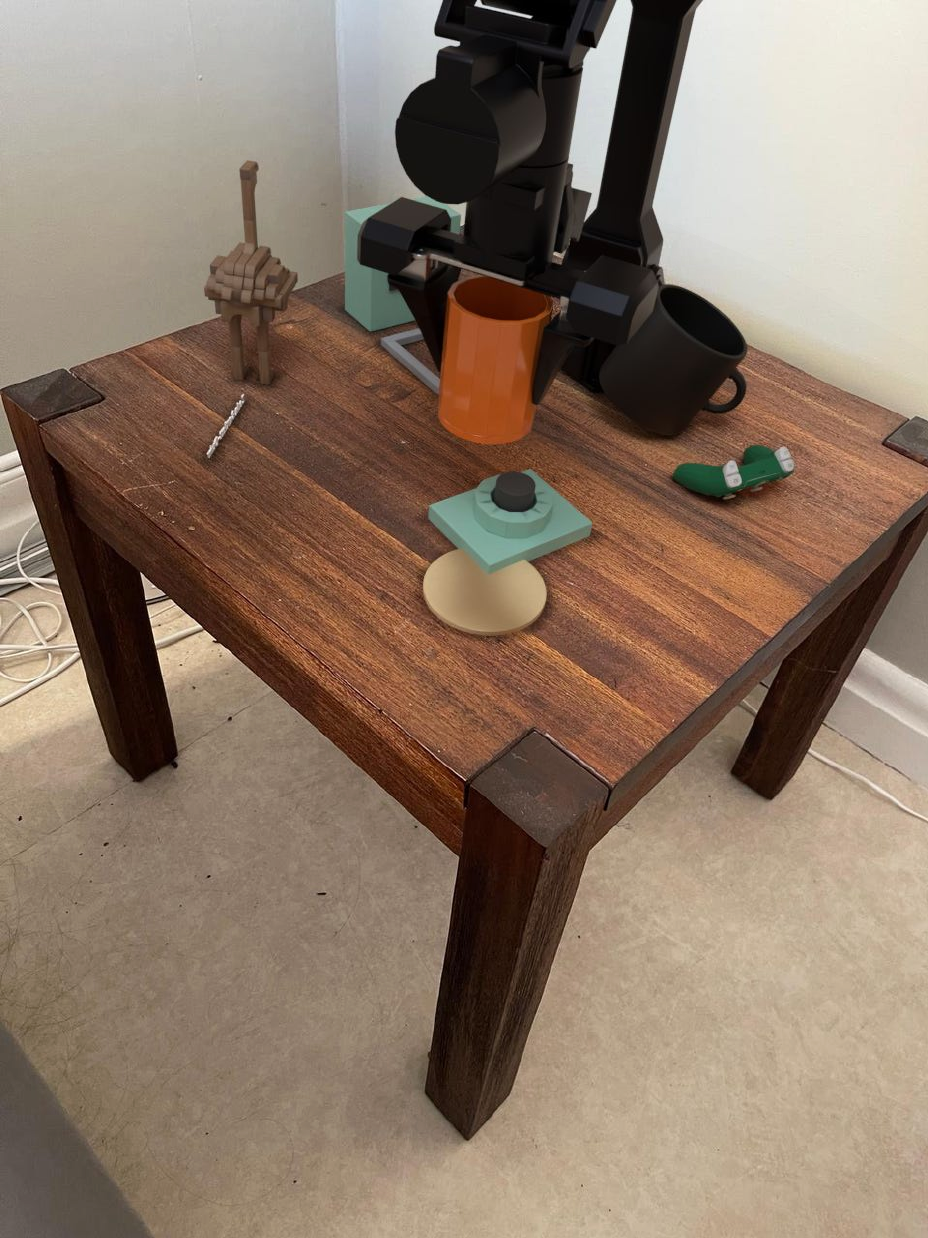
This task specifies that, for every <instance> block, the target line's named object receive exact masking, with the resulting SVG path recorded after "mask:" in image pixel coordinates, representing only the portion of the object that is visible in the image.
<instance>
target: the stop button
mask: <svg viewBox="0 0 928 1238" xmlns="http://www.w3.org/2000/svg"><path fill="white" fill-rule="evenodd" d="M522 472H523V471H516V470H514V471H513V470H511V471H505V472H503V473H500V474H501V475H500V474H499V476H498V478H497V480H496V486H495V493H494V502H495V504H496V505H497V506H498V507H499V508H500V509H502V510H505V511H508V512H525V511H527V510H529V509H530V508H531V506H532V504H533V499H534V493H535V487H536V484H535V481H534V480H533V479H532V478H531V477H530V476H529V475H527V474H525V473H522Z"/></svg>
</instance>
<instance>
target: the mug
mask: <svg viewBox="0 0 928 1238" xmlns="http://www.w3.org/2000/svg"><path fill="white" fill-rule="evenodd" d="M747 354H748V344H747V341H746V338H745V337H744V335H743V333H742V332H741V331H740V329H739V328H738V327H737V326H736V324H735V323H734V322H733V321H732V320H731V319H730V318H729V316H727V315H726V314H725V313H724V312H723V311H722V310H721V309H719V308H718V307H717V306H716V305H715V304H713V303H712V302H710V301H709V300H708V299H706V298H704V297H703V296H701V295H699V294H698V293H696V292H694V291H692V290H690V289H688V288H686V287H683V286H680V285H676V284H671V283H665V285H661V286H659V288H658V292H657V296H656V300H655V304H654V309H653V312H652V313H651V315H650V316H649V317H648V318H647V319H646V321H645V322H644V323H643V324H642V326H641V327H640V328H639V329H638V331H637V332H636V333H635V334H634V336H633V337H632V338H631V339H630V341H629V342H628V343H627V344H621V345H616V347H615V348H614V350H613V351H612V352H611V354H610V355H609V357H608V358H607V359H606V361H605V362H604V364H603V365H602V366H601V369H600V373H599V379H600V383H601V386H602V388H603V390H602V391H603V392H604V395H606V397H607V398H608V399H609V401H610V402H611V403H612V405H614V407H616V409H618V411H620V412H621V413H622V414H623V415H624V416H626V417H627V418H628V419H629V420H631V421H632V422H634V423H635V424H637V425H638V426H640V427H642V428H643V429H645V430H648V431H650V432H653V433H654V434H659V435H662V436H676V435H678V434H680V433H682V432H684V431H685V430H686V429H687V427H689V425H690V424H691V422H692V421H693V420H694V419H695V418H696V417H697V415H698V414H699V413H700V412H701V411H702V412H707V413H710V414H714V415H722V414H727V413H729V412H733V410H735V409H736V408H737V407H739V406H740V405H741V403H743V400H744V398H745V396H746V394H747V381H746V378H745V376H744V375H743V373H742V372H741V371H740V370H738V368H737V367H738V366H739V365H740V364H741V363H742V361H743V360H744V359H745V358H746V356H747ZM728 379H729V380H732V382H733V383H734V384H735V386H736V387H735V388H736V390H735V394H734V396H733V398H731V400H729V401H728V402H726V403H721V404H716V403H713V402H711V401H712V400H711V398H713V396H714V395H715V394H716V393H717V392H718V390H720V388H721V387H722V386H723V384H724V383H725V382H726V380H728Z"/></svg>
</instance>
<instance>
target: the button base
mask: <svg viewBox="0 0 928 1238" xmlns="http://www.w3.org/2000/svg"><path fill="white" fill-rule="evenodd" d="M521 472H522V473H525V474H527V475H529V476H530V477H531V478H532V479H533V480H534V481H535V484H536V487H535V493H534V499H533V504H532V506H531V508H530V509H529V510H527V511H525V512H508V511H505V510H502V509H500V508H499V507H498V506H497V505H496V504H495V502H494V493H495V486H496V480H497V478H498V476H499V475H501V474H502V473H499V474H495V475H493V476H490V477H487V478H485V479H483V480H482V481H481V482H480V483H479V485H478V486H476V488H473V489H469V490H467V491H465V492H462V493H459V494H456V495H454V496H450V497H448V498H445V499H443V500H440V501H437V502H434V503H431V504H429V505H428V516H427V517H428V520H429V521H430V522H431V523H432V524H433V525H434V526H435V527H436V528H437V529H438V530H439V531H440V532H441V533H442V534H443V535H444V536H445V537H446V538H447V539H448V540H449V541H450V542H451V543H452V545H454V546H455V547H456V549H461V548H463V549H464V550H465V551H466V552H467V553H468V554H469V555H470V556H471V557H472V558H473V559H474V560H475V561H476V562H477V563H478V564H479V565H480V567H481V568H482V569H483V570H484V571H485V572H486V573H487V574H490V573H493V572H495V571H497V570H500V569H502V568H505V567H507V566H509V565H512V564H514V563H517V562H519V561H522V560H526V561H527V562H531V561H533V560H535V559H537V558H540V557H542V556H546V555H548V554H549V553H553V552H555V551H557V550H560V549H562V548H564V547H567V546H569V545H571V544H574V543H576V542H580V540H584V539H586V538H588V537H590V536H591V533H592V529H593V524H594V523H593V521H591V520H590V518H588V517H587V516H586V515H584V513H582V512H581V511H580V510H578V509H577V508H576V507H575V506H574V505H573V504H572V503H571V502H569V501H568V500H567V499H566V497H564V496H563V495H562V494H560V493H559V491H557V490H556V489H554V488H553V487H552V486H551V485H550V484H549V483H548V482H547V481H545V480H544V479H543V478H542V477H541V476H539V474H537V473H536V472H535V471H534V470H533V469H532V468H528V469H526V470H523V471H521Z"/></svg>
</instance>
